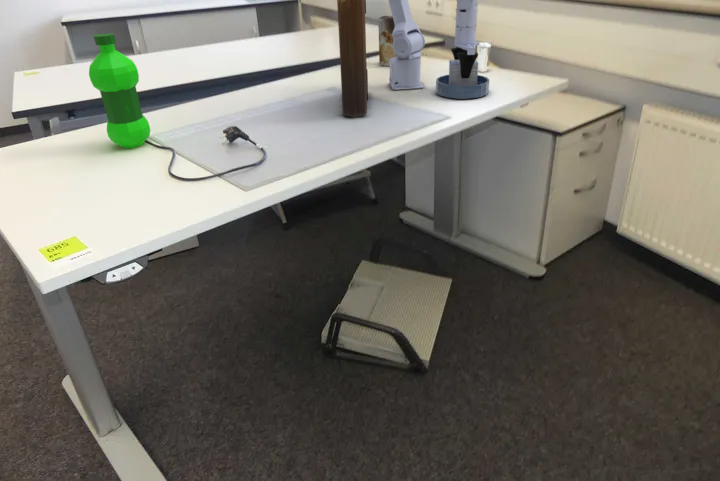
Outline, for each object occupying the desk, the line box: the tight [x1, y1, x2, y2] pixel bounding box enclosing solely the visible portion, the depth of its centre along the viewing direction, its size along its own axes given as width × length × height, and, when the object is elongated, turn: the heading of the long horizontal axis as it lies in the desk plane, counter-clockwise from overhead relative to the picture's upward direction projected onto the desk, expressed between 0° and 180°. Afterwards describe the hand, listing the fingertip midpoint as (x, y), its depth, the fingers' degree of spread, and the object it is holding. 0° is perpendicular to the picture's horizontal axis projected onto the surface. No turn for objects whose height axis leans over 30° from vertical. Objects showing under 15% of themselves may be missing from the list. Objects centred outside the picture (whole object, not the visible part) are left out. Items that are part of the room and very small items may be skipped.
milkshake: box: [476, 39, 495, 73], centre depth 178 cm, size 4×5×10 cm
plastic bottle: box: [88, 32, 151, 149], centre depth 123 cm, size 10×10×25 cm
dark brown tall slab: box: [336, 0, 369, 118], centre depth 143 cm, size 23×7×30 cm, turn 179°
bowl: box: [435, 74, 490, 100], centre depth 157 cm, size 15×15×4 cm
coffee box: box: [377, 15, 397, 67], centre depth 189 cm, size 9×6×16 cm
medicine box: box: [448, 59, 479, 86], centre depth 156 cm, size 8×4×9 cm, turn 86°
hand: (462, 75), depth 156 cm, fingers closed on medicine box, 5 cm apart
